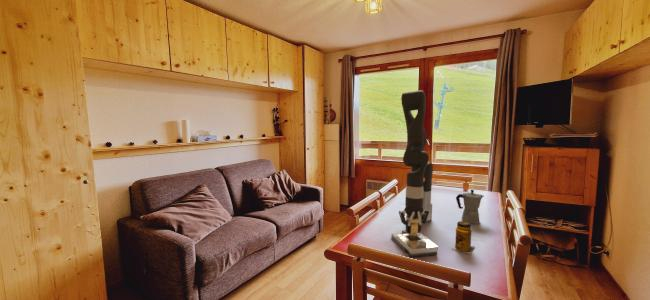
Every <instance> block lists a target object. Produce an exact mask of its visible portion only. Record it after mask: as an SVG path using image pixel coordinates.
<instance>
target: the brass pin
mask: <svg viewBox="0 0 650 300" xmlns="http://www.w3.org/2000/svg"><path fill="white" fill-rule="evenodd" d="M409 218H410V217H409ZM410 223H411V224H410V226H411V230H410V234H409V235H408V239H409V240H410V241H417V240H418V223H420V219H418V218H413V219H412V220H411V221H410Z"/></svg>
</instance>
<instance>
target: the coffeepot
mask: <svg viewBox="0 0 650 300" xmlns="http://www.w3.org/2000/svg"><path fill="white" fill-rule="evenodd" d="M474 192H475V191H474V189H470V192H465V193H459V194H457V195H456V197H455V200H456V203H457V207H458V209H460V210H461V209H462V210H463V212H462V215H461V221H464V222H468V223H470V224H471V225H479V224H480V223H481V222H480V213H479V208H480V206H481V205H480V204H481V202H482V199H483V198H484V195H483V194H481V193H480V194H479V193H474ZM460 198H463V199H462V200H463V206H462V204H461V199H460Z"/></svg>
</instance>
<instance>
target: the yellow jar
mask: <svg viewBox="0 0 650 300" xmlns="http://www.w3.org/2000/svg"><path fill="white" fill-rule="evenodd" d="M456 225H457V226H456V228H455V244H454V246H453V247H452V250H454V251H457V252H459V253H464V254H469V255H471V254H472V253H473V251H474V249H475V246H473V245H472V229H471V225H472V224H470V223H468V222H464V221H462V220H461V221H457V223H456Z"/></svg>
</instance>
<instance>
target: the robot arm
mask: <svg viewBox="0 0 650 300" xmlns="http://www.w3.org/2000/svg"><path fill="white" fill-rule="evenodd" d="M400 99H401V100H400V101H401V107H402V111H403V115H404V119H405V120H404V121H405V126H406V133H407V134H406V135H407V136H406V137H407V138H406V143H407V144H406V146H405V147H406V148H405V151H404V154H403V156H402V162H403V164H404V166H405V167H411V168H410V169H411V171H409V172H407V174H406V188H405V204H404V205H405V207H404V209H403V210H402V211H401V210H399V211H398V215H399V219H400V222H401V223H402V224H403V225H405V230H406V232H407V233H408V234H410V230H411V226H410V224H411V223H410V221H411V220H412V219H413V218H418V219H420V223H418V233H422V225H423V224H426V223H428V222H429V221H432V219H433V218H432V217H433V203H431V202H432V187H433V186H432V185H433V184H432V183H433V174H434V172H433V171H434V166H433V163H432V162H430V161H429V157H430V156H429V153H428V152H427V151H426V150H424V148H426V146H427V142H428V140H427V133H426V129H425V128H424V126H425V125H424V124H425V116H426V108H427V107H426V106H427V100H426V99H427V98H426V94H425V92H424V90H423V89H422V90H421V89H420V90H414V91H413V90H412V91H406V92H403V93H402V94H401V98H400ZM412 111H417V113H416V116H413V113H412ZM409 217H410V218H409Z"/></svg>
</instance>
